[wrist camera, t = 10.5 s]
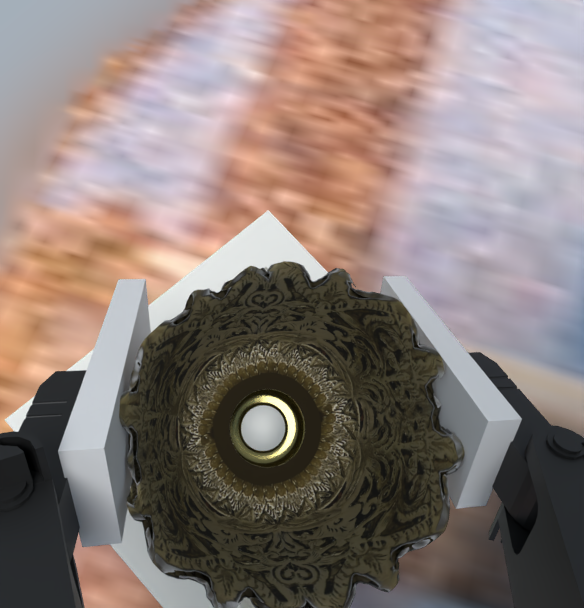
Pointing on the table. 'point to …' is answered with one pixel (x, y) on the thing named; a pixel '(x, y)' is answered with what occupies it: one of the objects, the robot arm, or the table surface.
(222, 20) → the table surface
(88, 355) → the seat plinth
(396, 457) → the filigree tulip shade
